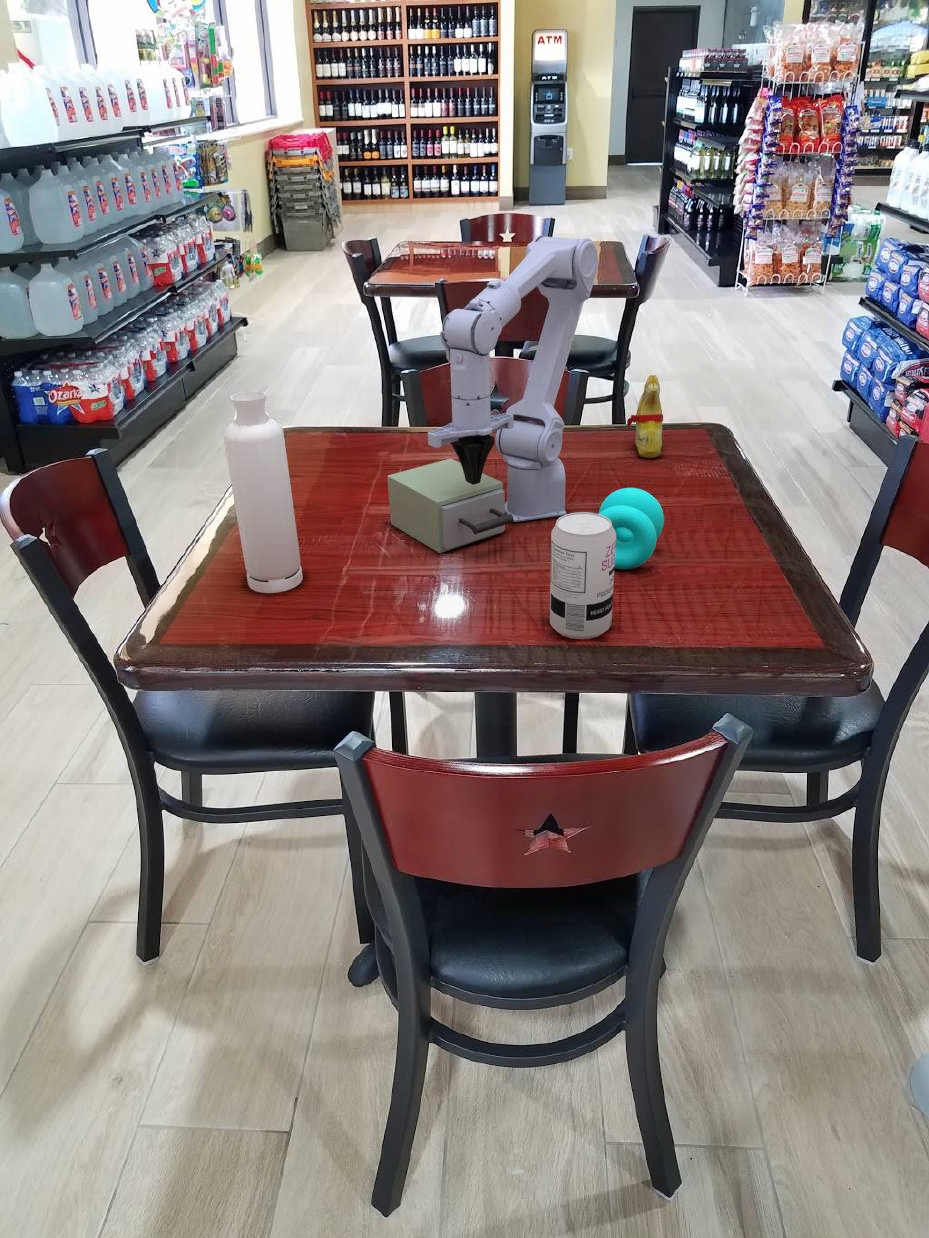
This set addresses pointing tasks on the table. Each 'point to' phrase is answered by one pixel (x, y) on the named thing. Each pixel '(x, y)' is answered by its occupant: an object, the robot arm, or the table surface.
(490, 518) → the drawer
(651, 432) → the chocolate bunny
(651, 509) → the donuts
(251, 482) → the bottle
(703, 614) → the table surface
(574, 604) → the supplement can
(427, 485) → the green drawer cabinet
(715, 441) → the table surface
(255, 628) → the table surface
